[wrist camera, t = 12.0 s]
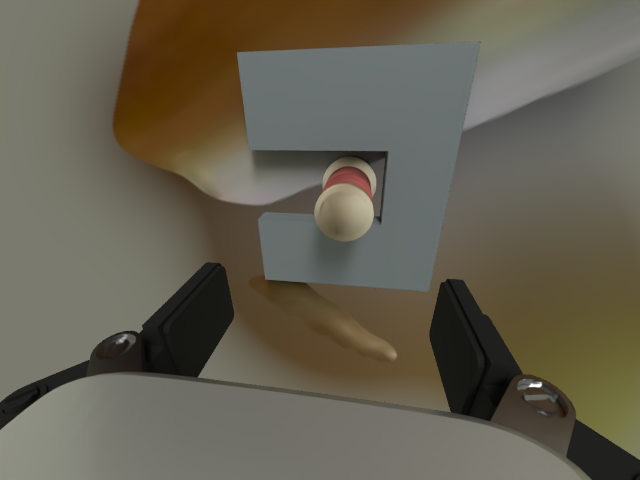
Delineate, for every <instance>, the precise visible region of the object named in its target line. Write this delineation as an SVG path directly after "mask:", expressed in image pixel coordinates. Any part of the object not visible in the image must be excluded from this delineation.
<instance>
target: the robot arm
mask: <svg viewBox="0 0 640 480" xmlns="http://www.w3.org/2000/svg"><path fill="white" fill-rule="evenodd" d="M233 318H234V310H233V305H232V300H231V295H230V290H229V285H228V280H227V276H226V270H225V268H224V267H222V265H221V264H220V263H210V262H208V263H205V264H204V265H203V266H202V267H201V269H199V270H198V271H197V272H196V273H195V274H194V275H193V276H192V277H191V278H190V279H189V280H188V281H187V282H186V283H185V284H184V285H183V286H182V287H181V288H180V289H179V290H178V291H177V292H176V293H175V294H174V295H173V296H172V297H171V298H170V299H169V300H168V301H167V302H166V303H165V304H164V305H163V306H162V307H161V308H159V309H158V311H157V312H155V313H154V314H153V315H152V316H151V317H150V319H148V320H147V321H146V322H145V323H144V324H143V325H142V327H143V330H142V331H141V332H140V333H138V332H136V331H123V332H120V333H116V334H114V335H112V336H110V337H108V338H106V339H104V340H103V341H102V342H100V343H99V344H98V345H97V346H96V347H95V348H94V349H93V351H92V353H91V355H90V360H88V361H85V362H83V363H81V364H78V365H75V366H73V367H71V368H68V369H66V370H63V371H61V372H58V373H56V374H53V375H51V376H48V377H46V378H44V379H41V380H39V381H36V382H34V383H31V384H29V385H27V386H25V387H22V388H21V389H18V390H17V391H15V392H13V393H12V394H10V395H9V396H8V397H6V398H5V399H4V400H3V401H1V402H0V480H640V460H639V459H637V458H635V457H634V456H632V455H631V454H629V453H628V452H626V451H625V450H623V449H621V448H620V447H619V446H617V445H615V444H614V443H612V442H611V441H609V440H608V439H606V438H605V437H603V436H602V435H600V434H598V433H597V432H595V431H594V430H592V429H591V428H589V427H587V426H586V425H585V424H583V423H581V422H580V421H578V420H577V419H576V411H575V408H574V406H573V404H572V403H571V401H570V400H569V399H568V397H567V396H566V395H565V394H564V393H563V392H562V391H561V390H559V389H558V388H557V387H556V386H554V385H553V384H551V383H550V382H548V381H546V380H544V379H541V378H539V377H536V376H532V375H524V374H523V373H522V371H521V369H520V368H519V366H518V364H517V363H516V361H515V359H514V358H513V356H512V354H511V353H510V351H509V349H508V348H507V346H506V345H505V343H504V341H503V340H502V338H501V336H500V335H499V333H498V331H497V330H496V328H495V326H494V325H493V323H492V321H491V320H490V318H489V317H488V316H487V315H483V313H482V311H481V310H480V308H479V306H478V305H477V303H476V301H475V299H474V298H473V296H472V294H471V293H470V291H469V289H468V288H467V286H466V284H465V282H464V281H463V280H457V279H447V280H446V282H442V283H441V285H440V289H439V293H438V297H437V302H436V306H435V310H434V315H433V319H432V323H431V328H430V342H431V345H432V349H433V352H434V356H435V359H436V362H437V366H438V369H439V373H440V376H441V380H442V383H443V387H444V390H445V394H446V397H447V400H448V404H449V407H450V411H451V412H445V411H439V410H432V409H426V408H419V407H412V406H406V405H400V404H393V403H386V402H378V401H371V400H364V399H357V398H349V397H342V396H335V395H328V394H320V393H313V392H305V391H297V390H290V389H283V388H275V387H267V386H260V385H252V384H244V383H236V382H228V381H220V380H212V379H204V378H197V377H198V376H199V374H200V372H201V371H202V369H203V368H204V366H205V364H206V363H207V361H208V359H209V358H210V356H211V355H212V353H213V351H214V350H215V348H216V346H217V345H218V343H219V342H220V340H221V338H222V337H223V335H224V333H225V332H226V330H227V329H228V327H229V325H230V324H231V322H232V320H233Z"/></svg>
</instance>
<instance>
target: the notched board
mask: <svg viewBox="0 0 640 480" xmlns="http://www.w3.org/2000/svg"><path fill="white" fill-rule="evenodd" d="M480 43H481V41H480V42H457V43H435V44H413V45H390V46H368V47H345V48H323V49H300V50H278V51H255V52H237V57H238V65H239V73H240V81H241V89H242V97H243V105H244V113H245V121H246V129H247V137H248V145H249V150H302V151H386V156H385V167H384V178H383V188H382V200H381V210H380V217H373V222H372V225H371V227H370V228H369V230H368V231H367V232H366V233H365V234H364V235H363V236H361V237H360V238H358V239H355V240H352V241H337V240H334V239H331V238H329V237H328V236H326V235H325V234H324V233H323V232H322V231H321V230H320V229H319V227H318V226H317V224H316V221H315V215H314V214H297V213H271V212H265V213H264V214H263V215H262V216H261V217H260V218H259V219H258V225H259V233H260V241H261V249H262V256H263V265H264V272H265V279H266V280H279V281H293V282H306V283H320V284H333V285H347V286H360V287H374V288H387V289H401V290H414V291H429V287H430V282H431V278H432V273H433V268H434V263H435V258H436V254H437V249H438V244H439V239H440V235H441V230H442V225H443V220H444V215H445V211H446V205H447V201H448V195H449V191H450V187H451V182H452V177H453V172H454V168H455V162H456V158H457V153H458V148H459V144H460V139H461V134H462V129H463V125H464V120H465V115H466V110H467V105H468V101H469V96H470V91H471V86H472V81H473V77H474V72H475V67H476V62H477V57H478V53H479V48H480Z"/></svg>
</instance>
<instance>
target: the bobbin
mask: <svg viewBox="0 0 640 480" xmlns="http://www.w3.org/2000/svg"><path fill="white" fill-rule="evenodd" d="M322 186H323V191H322V193H321V195H320V197H319V199H318V201H317V203H316V206H315V211H314V215H315V221H316V224H317V226H318V227H319V229H320V230H321V231H322V232H323V233H324V234H325V235H326V236H328V237H329V238H331V239H334V240H337V241H352V240H355V239H358V238H360V237H361V236H363V235H364V234H365V233H366V232H367V231H368V230H369V228H370V227H371V225H372V222H373V217H374V210H373V201H372V198H373V196H374V194H375V191H376V177H375V173H374V171H373V169H372V167H371V166H370V165H369V164H368V163H367V162H366V161H365V160H363V159H361V158H359V157H355V156H345V157H341V158H339V159H337V160H335V161H334V162H333V163H332V164H331V165H330V166H329V167H328V169H327V170H326V172H325V174H324V177H323V181H322Z"/></svg>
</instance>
